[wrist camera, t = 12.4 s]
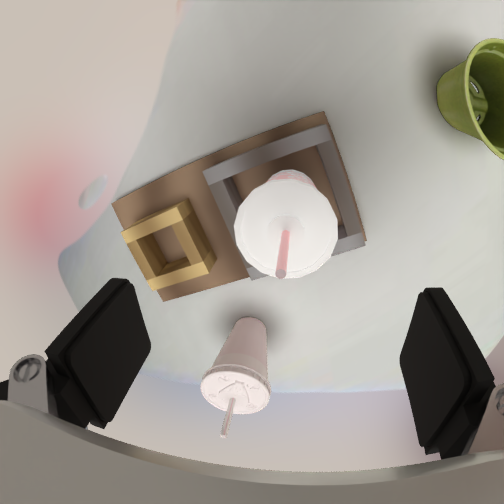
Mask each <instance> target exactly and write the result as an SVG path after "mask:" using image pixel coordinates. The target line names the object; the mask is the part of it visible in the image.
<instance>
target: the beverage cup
mask: <svg viewBox="0 0 504 504" xmlns="http://www.w3.org/2000/svg"><path fill="white" fill-rule="evenodd" d="M234 231H235V238H236V244H237V246H238V248H239V250H240V251H241V253H242V255H243V256H244V258H245V260H246V261H247V262H248V263H249V264H251V265H252V266H253V267H255V268H256V269H257V270H259V271H260V272H261V273H264V274H267V275H270V276H273V277H277V278H279V279H283V278H300V277H302V276H304V275H307V274H309V273H312V272H314V271H316V270H318V269H319V268H320V267H321V266H322V265H323V264H324V263H325V262H326V261H327V260H328V259H329V258H330V257H331V254H332V252H333V250H334V247H335V245H336V242H337V240H338V225H337V218H336V215H335V213H334V211H333V209H332V207H331V205H330V203H329V201H328V199H327V198H326V197H325V196H324V195H323V194H322V193H320V192H319V191H318V190H317V188H316V187H315V185H314V183H313V182H312V180H311V179H310V178H309V177H308V176H306V175H305V174H304V173H302V172H299V171H296V170H293V169H292V170H282V171H280V172H278V173H276V174H274V175H272V176H271V178H270V179H269V180H268V181H267V182H266V183H265V184H263V185H261V186H259V187H257V188H255V189H254V190H253V191H252V192H251V193H250V194H249V195H248V197H247V198H246V199H245V200H244V201H243V203H242V204H241V205H240V206H239V209H238V212H237V216H236V220H235V223H234Z"/></svg>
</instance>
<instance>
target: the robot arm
mask: <svg viewBox="0 0 504 504" xmlns="http://www.w3.org/2000/svg"><path fill="white" fill-rule="evenodd" d="M150 350H151V342H150V339H149V336H148V333H147V330H146V326H145V323H144V320H143V316H142V313H141V310H140V306H139V303H138V299H137V296H136V292H135V288H134V286H133V284H131V283H130V282H129V280H128V279H121V278H112V279H110V280H109V281H108V282H107V283H106V284H105V285H104V286H103V287H102V288H101V289H100V290H99V292H98V293H97V294H96V295H95V296H94V297H93V298H92V299H91V300H90V301H89V302H88V303H87V304H86V305H85V306H84V307H83V309H82V310H81V311H80V312H79V313H78V314H77V315H76V316H75V317H74V319H72V321H71V322H70V323H69V324H68V325H67V326H66V327H65V328H64V329H63V331H62V332H61V333H60V334H59V335H58V336H57V337H56V339H55V340H54V341H53V342H52V343H51V345H50V346H49V347H48V348H47V349H46V350H45V353H46V354H47V356H48V360H47V361H45V360H44V358H43V357H41V356H40V355H35V354H32V355H27V356H25V357H22V358H21V359H19V360H18V361H17V362H16V363H15V364H14V365H13V367H12V368H11V371H10V375H9V380H6V381H3V382H0V504H504V383H503V384H500V385H498V386H495V384H494V382H493V381H494V376H493V374H492V372H491V370H490V368H489V366H488V364H487V362H486V360H485V358H484V356H483V354H482V353H481V351H480V349H479V347H478V345H477V343H476V342H475V340H474V338H473V336H472V335H471V333H470V331H469V329H468V328H467V326H466V324H465V323H464V321H463V319H462V318H461V316H460V314H459V313H458V311H457V309H456V308H455V306H454V305H453V303H452V301H451V300H450V298H449V297H448V295H447V294H446V292H445V291H444V289H443V288H425V289H424V291H423V292H421V293H420V294H419V295H418V299H417V302H416V306H415V310H414V313H413V317H412V320H411V323H410V327H409V330H408V333H407V336H406V339H405V342H404V345H403V348H402V351H401V354H400V367H401V370H402V374H403V377H404V381H405V385H406V389H407V392H408V396H409V400H410V405H411V409H412V413H413V417H414V422H415V426H416V431H417V436H418V440H419V444H420V446H421V447H424V448H425V454H426V455H428V454H433V453H437V452H439V453H440V456H441V460H437V461H432V462H426V463H420V464H414V465H407V466H400V467H391V468H383V469H373V470H361V471H344V472H291V471H272V470H259V469H249V468H241V467H233V466H225V465H219V464H212V463H207V462H201V461H195V460H191V459H186V458H181V457H176V456H172V455H167V454H164V453H160V452H156V451H151V450H148V449H145V448H141V447H137V446H134V445H131V444H127V443H124V442H121V441H118V440H115V439H112V438H109V437H106V436H103V435H100V434H98V433H95V432H92V431H90V430H88V428H87V425H88V424H89V422H90V423H91V424H92V425H94V426H97V427H100V428H102V429H104V428H105V426H106V424H107V423H108V422H111V421H112V420H113V418H114V416H115V414H116V412H117V411H118V409H119V407H120V405H121V403H122V401H123V399H124V398H125V396H126V394H127V392H128V390H129V388H130V387H131V385H132V383H133V381H134V379H135V378H136V376H137V374H138V372H139V370H140V369H141V367H142V365H143V363H144V362H145V360H146V358H147V356H148V354H149V353H150Z"/></svg>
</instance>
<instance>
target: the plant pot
mask: <svg viewBox="0 0 504 504" xmlns="http://www.w3.org/2000/svg"><path fill="white" fill-rule="evenodd" d="M470 82H472V83H474V84H475V85H476V87H477V88H478V91H479V93H477V92H476V90H475V88H474V87H473V86H472V84H471V83H470ZM437 103H438V107H439V110H440V112H441V114H442V115H443V117H444V118H445V120H446V121H447V122H448V123H449V124H450V125H451V126H452V127H454V128H455V129H457V130H459V131H462V132H464V133H466V134H469V135H471V136H473V137H475V138H477V139H479V140H481V141H483V142H484V143H485V144H486V146H487V147H488V148H489V149H490V150H491V151H492V152H493V153H494V154H495V155H497V156H498V157H499V158H501V159H503V160H504V40H503V39H497V38H490V39H486V40H483V41H481V42H479V43H478V44H477V45H476V46H474V48H473V49H472V50H471V52H470V53H469V55H468V57H467V60H466V61H464V62H462V63H461V64H459V65H458V66H456V67H454V68H453V69H451V70H449V71H448V72H446V73H445V74H443V75H442V77H441V78H440V80H439V82H438V84H437ZM479 115H480V119H479V121H478V122H477V120H476V119H477V117H478V116H479Z"/></svg>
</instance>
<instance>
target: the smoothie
mask: <svg viewBox="0 0 504 504" xmlns="http://www.w3.org/2000/svg"><path fill="white" fill-rule="evenodd" d="M201 392H202V394H203V396H204V397H205V399H207V401H208V402H209V403H210V404H212V405H213V406H215V407H216V408H219V409H221V410H223V411H226V415H225V419H224V423H223V427H222V430H221V435H220V437H222V438H226V437H227V434H228V430H229V426H230V422H231V417H232V414H233V413H235V414H250V413H254V412H257V411H259V410H262V409H263V408H264V407H265V406H266V405H267V404H268V402H269V398H270V394H271V386H270V384H269V382H268V373H267V332H266V327H265V325H264V324H263V323H262V322H261V321H260V320H258V319H256V318H253V317H244V318H241V319H239V320H238V321H237V322H236V323H235V325H234V327H233V329H232V331H231V333H230V334H229V336H228V338H227V340H226V342H225V344H224V345H223V347H222V349H221V351H220V353H219V355H218V357H217V358H216V360H215V362H214V364H213V366H212V367H211V368H210V369H208V370H207V371H206V372H205V374H204V376H203V378H202V383H201Z"/></svg>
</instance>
